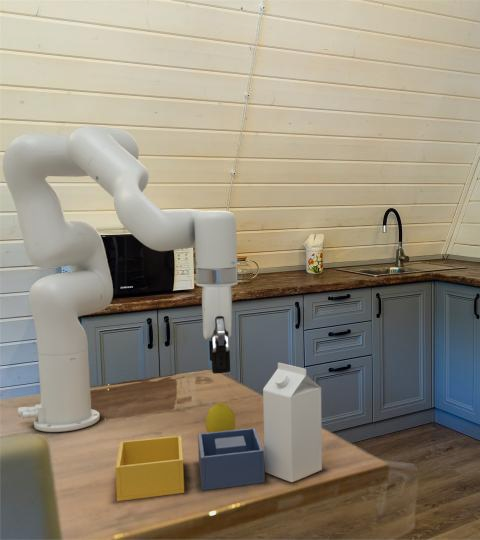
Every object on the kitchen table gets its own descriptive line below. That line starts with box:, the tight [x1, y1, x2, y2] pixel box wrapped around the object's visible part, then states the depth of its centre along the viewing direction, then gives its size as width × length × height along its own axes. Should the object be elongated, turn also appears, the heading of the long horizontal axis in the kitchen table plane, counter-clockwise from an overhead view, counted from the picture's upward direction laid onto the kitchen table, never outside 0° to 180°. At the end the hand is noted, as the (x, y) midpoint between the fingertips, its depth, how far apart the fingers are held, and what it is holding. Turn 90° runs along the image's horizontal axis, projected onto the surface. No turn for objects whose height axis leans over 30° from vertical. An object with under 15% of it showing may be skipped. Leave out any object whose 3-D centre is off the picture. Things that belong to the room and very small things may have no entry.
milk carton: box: [262, 362, 323, 483], centre depth 126 cm, size 7×7×19 cm
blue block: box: [214, 436, 246, 455], centre depth 126 cm, size 5×5×5 cm
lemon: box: [205, 402, 236, 433], centre depth 141 cm, size 6×6×8 cm
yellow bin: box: [115, 435, 185, 502], centre depth 122 cm, size 10×12×6 cm
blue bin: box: [197, 427, 266, 491], centre depth 126 cm, size 10×12×6 cm
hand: (219, 366), depth 138 cm, fingers open, 9 cm apart
